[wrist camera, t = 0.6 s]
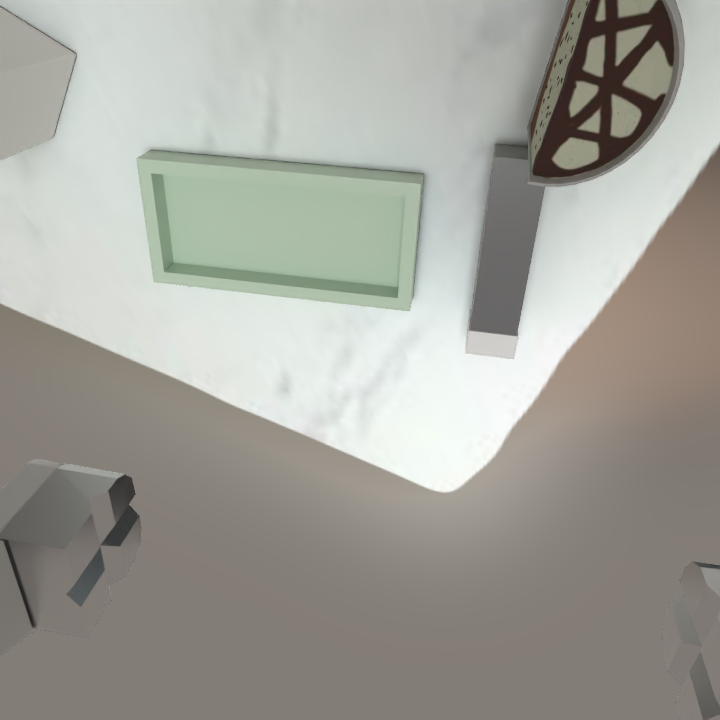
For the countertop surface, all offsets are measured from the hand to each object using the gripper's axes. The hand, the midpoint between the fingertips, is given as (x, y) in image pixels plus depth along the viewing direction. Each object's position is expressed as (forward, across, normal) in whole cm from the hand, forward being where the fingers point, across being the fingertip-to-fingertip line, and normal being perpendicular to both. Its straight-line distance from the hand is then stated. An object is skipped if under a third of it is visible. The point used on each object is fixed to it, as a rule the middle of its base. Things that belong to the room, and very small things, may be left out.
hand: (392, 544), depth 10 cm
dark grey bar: (+42, -4, +11) cm, 43 cm away
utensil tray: (+41, +13, +11) cm, 45 cm away
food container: (+41, -8, -2) cm, 42 cm away
